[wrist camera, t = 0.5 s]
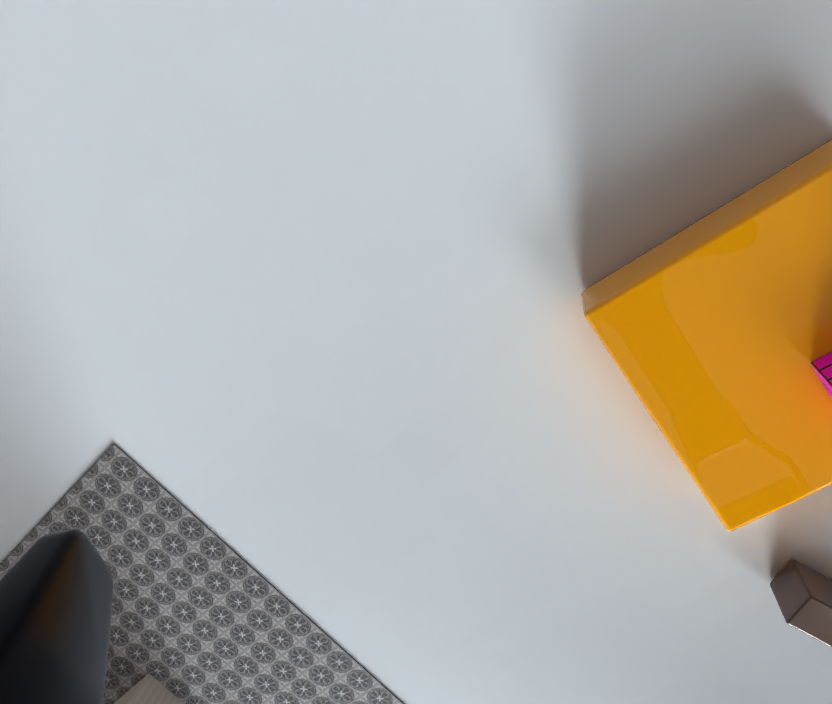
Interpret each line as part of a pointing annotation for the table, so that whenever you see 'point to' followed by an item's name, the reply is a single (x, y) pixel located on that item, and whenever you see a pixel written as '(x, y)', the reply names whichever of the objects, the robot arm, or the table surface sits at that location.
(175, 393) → the table surface
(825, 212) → the mustard yellow box
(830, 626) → the bay
